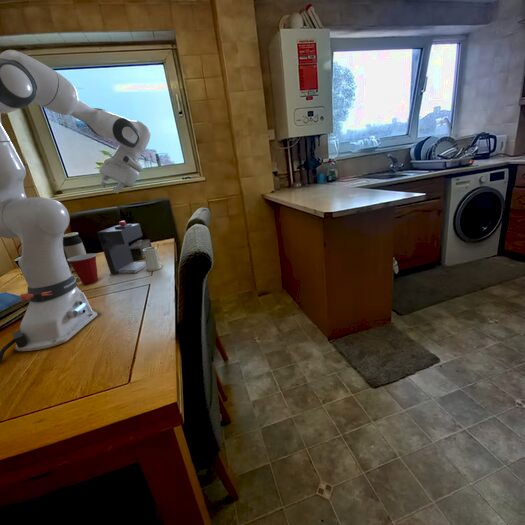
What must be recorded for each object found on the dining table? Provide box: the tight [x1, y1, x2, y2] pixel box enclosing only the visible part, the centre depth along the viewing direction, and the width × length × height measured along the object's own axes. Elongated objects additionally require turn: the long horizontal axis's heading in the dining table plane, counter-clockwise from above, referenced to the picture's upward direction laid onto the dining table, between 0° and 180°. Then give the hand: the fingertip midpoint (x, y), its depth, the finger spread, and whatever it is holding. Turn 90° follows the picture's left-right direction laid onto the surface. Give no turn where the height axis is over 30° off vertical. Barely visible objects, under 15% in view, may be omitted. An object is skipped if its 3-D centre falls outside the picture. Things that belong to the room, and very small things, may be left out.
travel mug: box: [63, 232, 87, 272], centre depth 137 cm, size 8×8×18 cm
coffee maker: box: [97, 223, 147, 276], centre depth 128 cm, size 13×12×21 cm
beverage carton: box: [129, 239, 153, 261], centre depth 151 cm, size 8×19×7 cm, turn 6°
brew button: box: [118, 220, 127, 226], centre depth 123 cm, size 2×2×2 cm
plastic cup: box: [67, 253, 99, 286], centre depth 119 cm, size 11×11×12 cm
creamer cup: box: [142, 246, 162, 272], centre depth 127 cm, size 6×6×10 cm
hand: (108, 189), depth 114 cm, fingers open, 8 cm apart
